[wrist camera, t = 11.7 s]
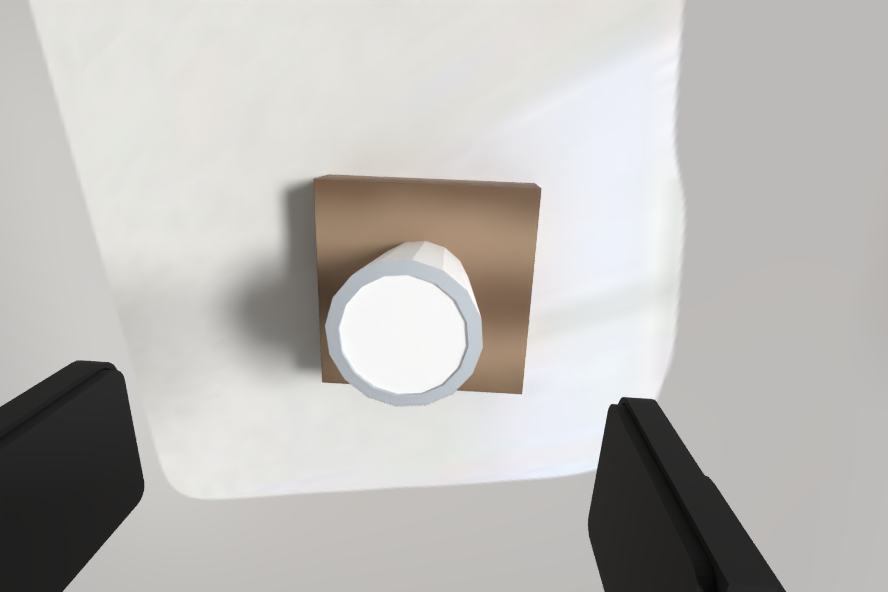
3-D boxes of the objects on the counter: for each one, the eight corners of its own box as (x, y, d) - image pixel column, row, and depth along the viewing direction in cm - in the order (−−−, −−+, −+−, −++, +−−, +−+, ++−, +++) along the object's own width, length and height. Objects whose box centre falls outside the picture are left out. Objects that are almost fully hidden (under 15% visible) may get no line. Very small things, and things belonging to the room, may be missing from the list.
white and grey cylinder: (355, 337, 29) (320, 397, 23) (363, 221, 27) (328, 249, 20) (472, 353, 29) (471, 418, 22) (489, 238, 27) (495, 271, 20)
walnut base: (329, 174, 29) (313, 178, 27) (534, 183, 29) (541, 188, 26) (335, 360, 33) (322, 382, 30) (517, 371, 33) (521, 394, 30)
